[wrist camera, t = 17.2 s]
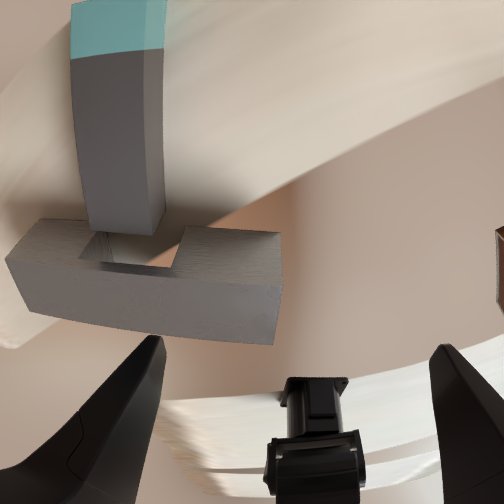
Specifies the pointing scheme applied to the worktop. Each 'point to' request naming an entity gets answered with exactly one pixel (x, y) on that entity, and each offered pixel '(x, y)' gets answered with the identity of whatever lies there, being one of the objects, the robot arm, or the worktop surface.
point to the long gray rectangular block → (155, 282)
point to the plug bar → (119, 111)
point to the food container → (500, 267)
